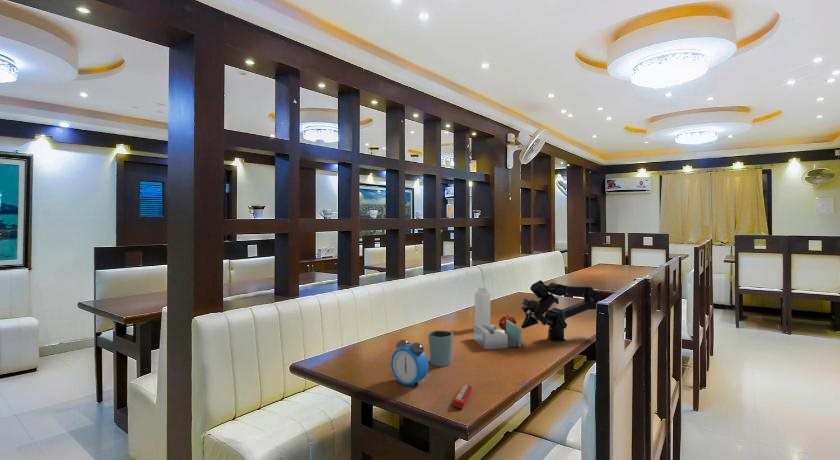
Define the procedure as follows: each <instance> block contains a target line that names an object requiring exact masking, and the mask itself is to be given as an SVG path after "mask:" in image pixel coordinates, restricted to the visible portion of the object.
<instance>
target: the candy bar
mask: <svg viewBox="0 0 840 460" xmlns="http://www.w3.org/2000/svg"><path fill="white" fill-rule="evenodd" d="M472 391H473V386H472V385H470V384H467V383H463V384H461V387H460V388H459V390H458V391H457V393H456V395H455V397H454V399H453V401H452V406H453V407H456V408H457V409H460V410H461V409H463V408H464V407H465V405H466V403H467V401H468V399H469V398H470V395H471V393H472Z"/></svg>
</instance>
